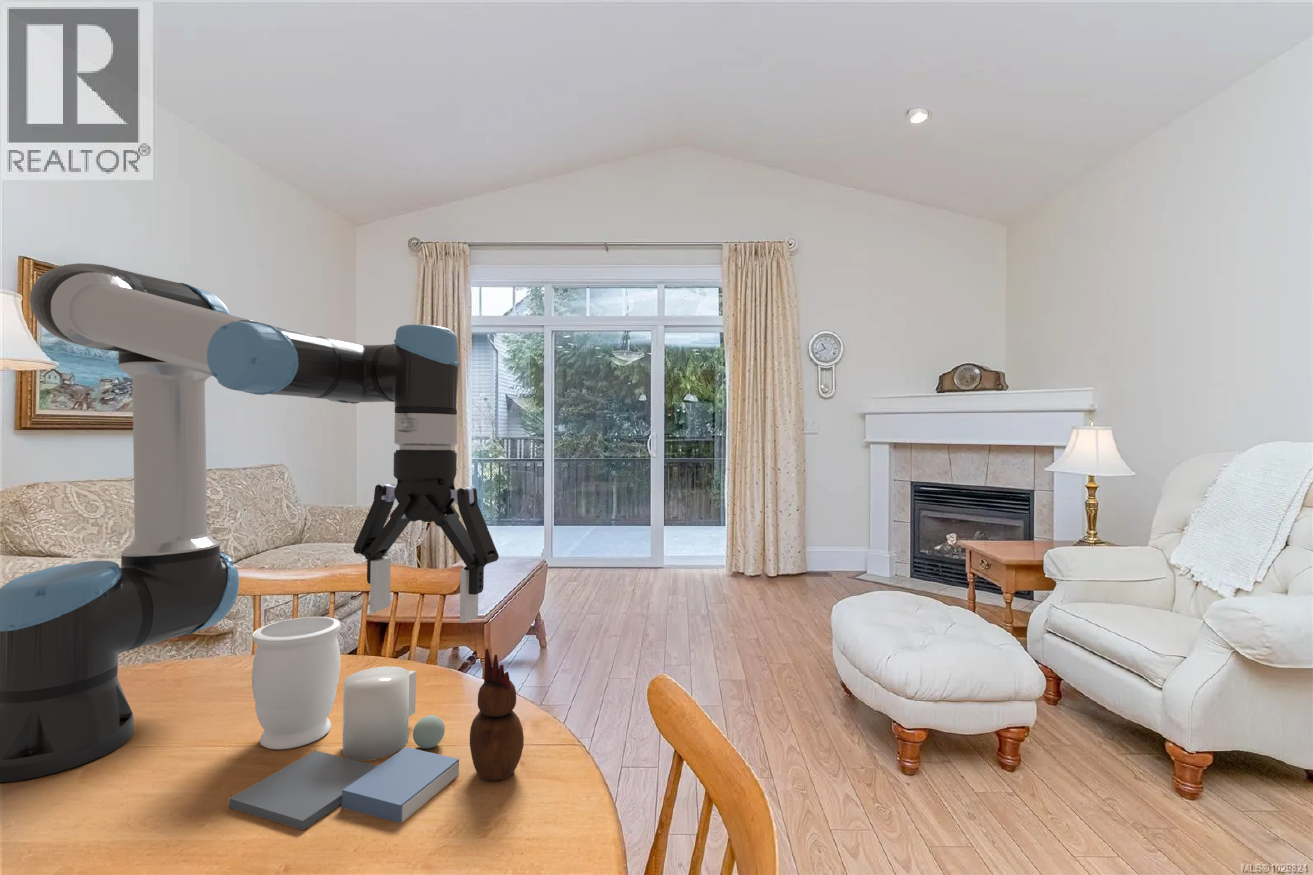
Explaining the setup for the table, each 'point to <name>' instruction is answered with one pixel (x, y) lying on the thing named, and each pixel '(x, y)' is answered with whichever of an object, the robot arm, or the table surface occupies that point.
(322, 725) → the jar
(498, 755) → the wooden figurine
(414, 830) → the table surface
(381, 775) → the book
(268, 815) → the coaster
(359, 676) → the mug
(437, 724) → the ball
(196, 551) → the robot arm
